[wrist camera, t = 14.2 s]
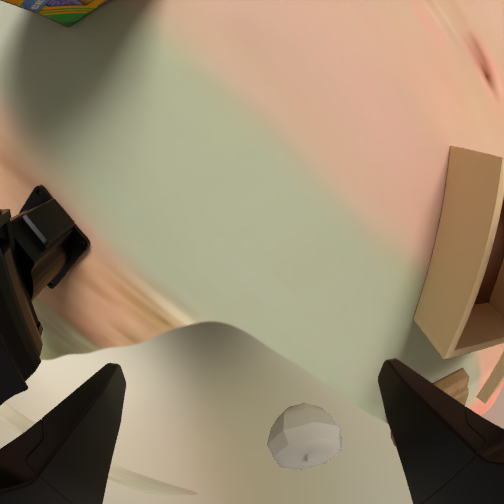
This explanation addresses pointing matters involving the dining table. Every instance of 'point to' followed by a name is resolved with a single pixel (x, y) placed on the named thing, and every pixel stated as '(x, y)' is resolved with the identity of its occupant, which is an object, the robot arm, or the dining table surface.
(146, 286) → the dining table surface
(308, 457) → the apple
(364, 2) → the dining table surface
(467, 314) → the wooden box
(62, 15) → the chalk box
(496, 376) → the lid
